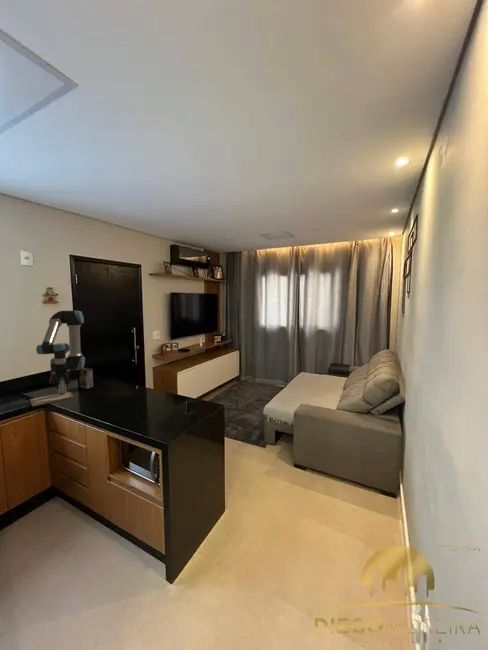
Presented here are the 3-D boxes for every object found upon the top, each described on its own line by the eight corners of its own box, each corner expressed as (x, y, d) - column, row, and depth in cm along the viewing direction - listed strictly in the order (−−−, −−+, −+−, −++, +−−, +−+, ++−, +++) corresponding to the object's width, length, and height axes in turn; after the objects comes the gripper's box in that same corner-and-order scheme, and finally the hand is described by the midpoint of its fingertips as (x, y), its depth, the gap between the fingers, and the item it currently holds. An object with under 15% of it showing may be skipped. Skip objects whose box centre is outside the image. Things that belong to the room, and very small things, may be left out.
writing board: (29, 400, 215) (29, 398, 215) (69, 392, 232) (69, 391, 232) (32, 406, 203) (32, 405, 203) (73, 398, 220) (73, 396, 220)
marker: (59, 393, 226) (58, 377, 224) (65, 392, 228) (63, 377, 227) (60, 395, 223) (59, 379, 221) (65, 394, 225) (64, 378, 224)
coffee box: (79, 387, 245) (78, 369, 243) (86, 385, 251) (85, 367, 249) (87, 388, 241) (86, 370, 239) (93, 386, 247) (92, 368, 245)
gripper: (48, 366, 214) (50, 396, 217) (73, 362, 225) (75, 391, 228) (46, 364, 220) (49, 393, 222) (71, 360, 231) (73, 388, 234)
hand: (62, 392), depth 225 cm, fingers closed on marker, 3 cm apart
